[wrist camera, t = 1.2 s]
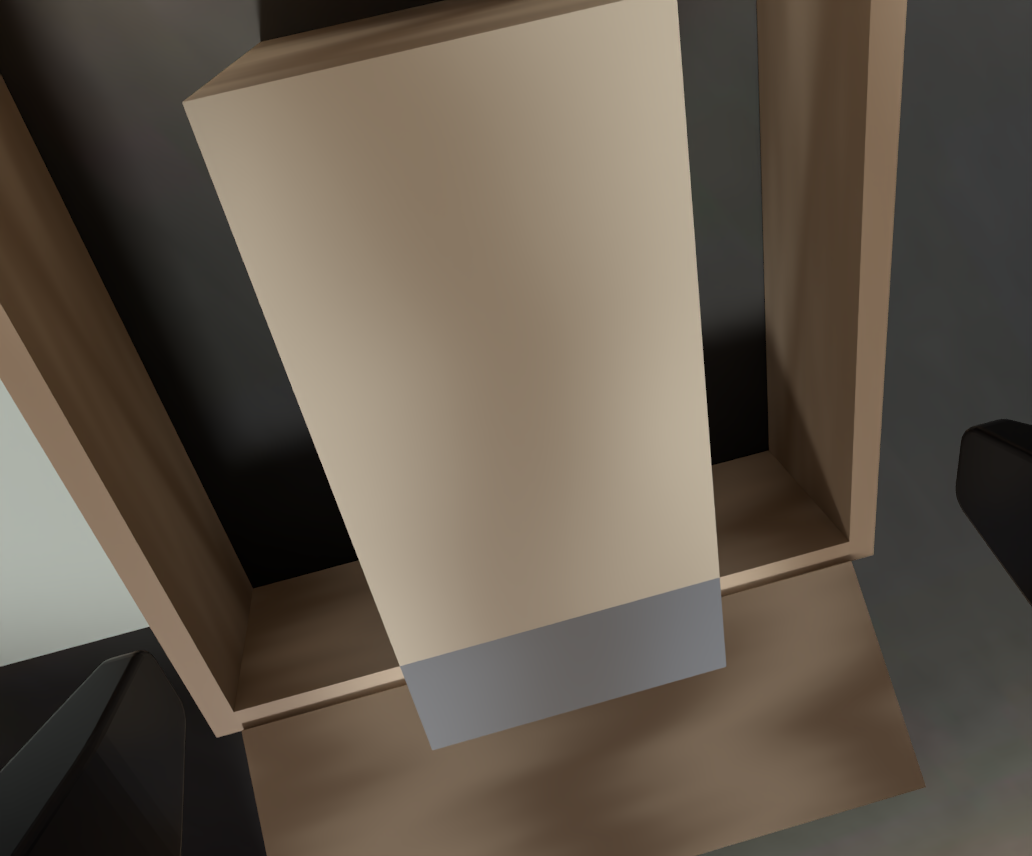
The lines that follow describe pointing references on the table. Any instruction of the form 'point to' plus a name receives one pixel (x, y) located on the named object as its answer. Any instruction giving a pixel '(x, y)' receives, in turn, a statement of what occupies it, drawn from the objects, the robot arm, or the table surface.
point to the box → (491, 335)
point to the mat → (49, 557)
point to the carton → (350, 604)
